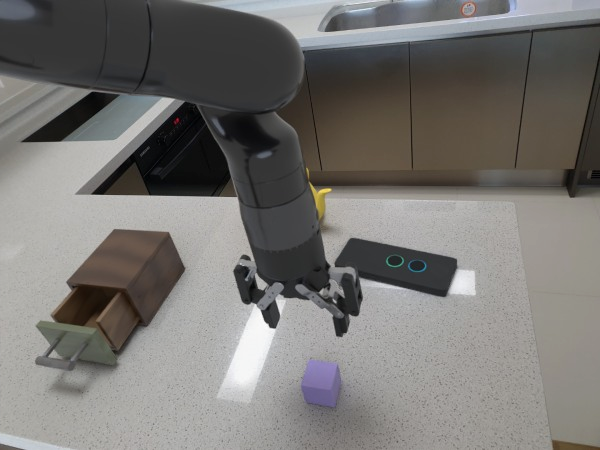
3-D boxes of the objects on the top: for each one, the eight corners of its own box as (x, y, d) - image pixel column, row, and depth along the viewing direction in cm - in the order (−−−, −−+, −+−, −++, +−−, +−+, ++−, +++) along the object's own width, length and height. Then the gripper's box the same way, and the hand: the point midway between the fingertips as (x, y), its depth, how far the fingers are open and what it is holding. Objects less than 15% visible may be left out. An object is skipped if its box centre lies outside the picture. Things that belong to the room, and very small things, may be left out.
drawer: (96, 391, 71) (72, 360, 66) (39, 380, 74) (13, 350, 70) (156, 302, 84) (139, 271, 79) (105, 296, 88) (87, 267, 83)
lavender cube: (334, 407, 63) (330, 390, 60) (305, 402, 64) (300, 385, 61) (341, 380, 66) (337, 363, 63) (313, 376, 67) (308, 359, 65)
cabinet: (147, 326, 81) (125, 288, 75) (90, 318, 85) (65, 282, 79) (185, 268, 91) (169, 231, 86) (133, 264, 96) (114, 228, 90)
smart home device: (445, 291, 73) (332, 264, 82) (445, 298, 74) (333, 271, 84) (458, 257, 78) (350, 235, 88) (458, 264, 80) (351, 242, 89)
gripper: (204, 244, 46) (244, 344, 56) (342, 252, 42) (359, 360, 51) (233, 200, 52) (264, 299, 61) (358, 203, 47) (370, 310, 57)
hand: (307, 327), depth 56 cm, fingers open, 8 cm apart
